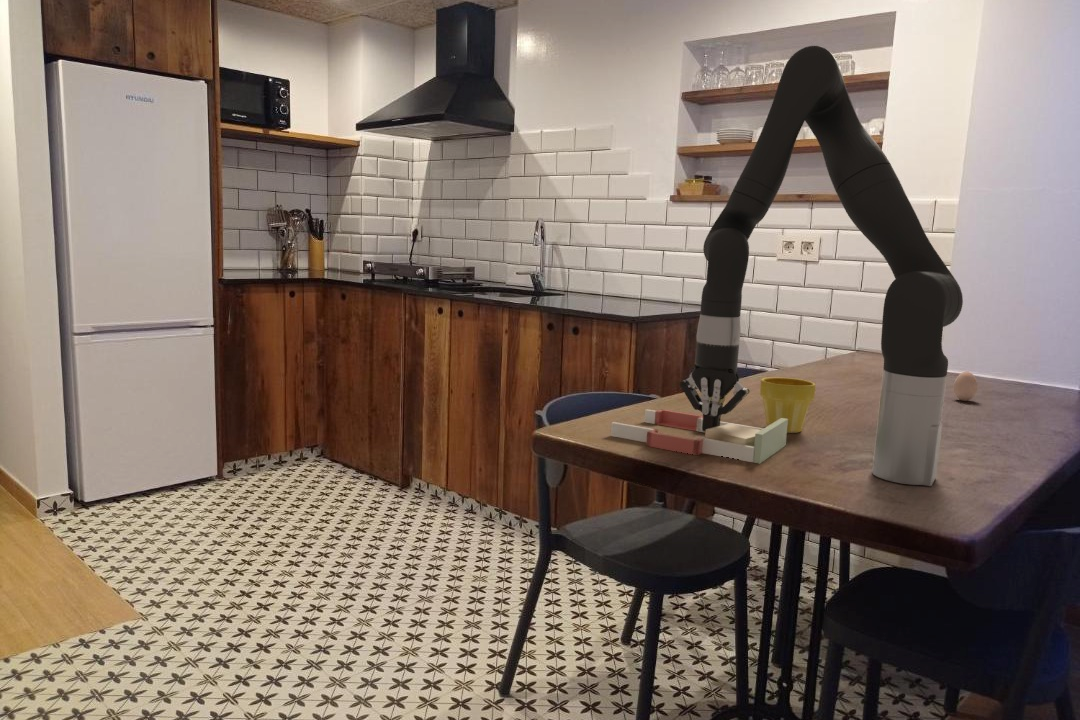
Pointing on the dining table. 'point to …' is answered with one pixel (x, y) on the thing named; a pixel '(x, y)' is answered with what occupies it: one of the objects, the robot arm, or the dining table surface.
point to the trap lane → (764, 446)
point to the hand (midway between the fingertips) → (710, 434)
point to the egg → (965, 386)
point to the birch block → (732, 434)
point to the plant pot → (787, 400)
